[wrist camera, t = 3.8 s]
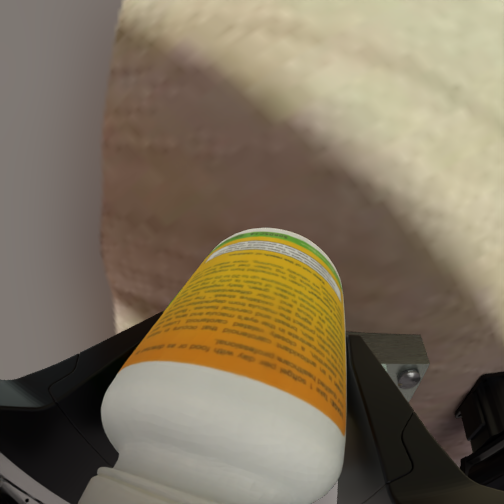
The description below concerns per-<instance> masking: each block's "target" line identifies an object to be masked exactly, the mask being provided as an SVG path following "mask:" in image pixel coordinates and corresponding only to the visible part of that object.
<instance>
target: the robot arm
mask: <svg viewBox="0 0 504 504" xmlns="http://www.w3.org/2000/svg"><path fill="white" fill-rule="evenodd" d="M163 312H164V311H162V312H160V313H158V314H156V315H154V316H152V317H150V318H148V319H146V320H144V321H142V322H141V323H139V324H137V325H135V326H133V327H131V328H129V329H127V330H125V331H123V332H121V333H119V334H117V335H115V336H113V337H111V338H109V339H107V340H105V341H103V342H101V343H99V344H97V345H95V346H92V347H90V348H89V349H87V350H84V351H82V352H80V354H76V355H74V356H72V357H70V358H68V359H66V360H64V361H62V362H60V363H58V364H55V365H52V366H50V367H48V368H45V369H42V370H40V371H37V372H35V373H32V374H29V375H26V376H24V377H21V378H18V379H14V380H0V504H78V502H79V500H80V498H81V496H82V494H83V492H84V491H85V489H86V487H87V485H88V483H89V482H90V480H91V478H92V477H94V476H97V475H98V474H97V471H98V469H99V468H100V467H108V468H113V467H114V466H115V464H116V462H117V461H118V458H119V453H118V452H117V451H116V449H115V448H114V447H113V445H112V444H111V442H110V441H109V439H108V437H107V435H106V433H105V431H104V428H103V424H102V418H101V406H102V401H103V398H104V395H105V393H106V391H107V389H108V387H109V386H110V384H111V383H112V381H113V380H114V379H115V377H116V375H117V373H118V372H119V370H120V369H121V368H122V366H123V365H124V364H125V362H126V361H127V359H128V358H129V357H130V356H131V354H132V353H133V352H134V350H135V349H136V348H137V346H138V345H139V344H140V343H141V341H142V340H143V339H144V337H145V336H146V335H147V334H148V332H149V331H150V330H151V328H152V327H153V326H154V324H155V323H156V322H157V320H158V319H159V318H160V317H161V315H162V314H163ZM346 369H347V406H346V441H345V453H344V462H343V467H342V472H341V474H340V476H339V479H338V496H337V504H504V372H500V373H493V374H485V375H483V376H482V377H481V378H480V379H479V380H478V382H477V383H476V385H475V386H474V388H473V389H472V391H471V392H470V394H469V395H468V397H467V398H466V399H465V401H464V402H463V403H462V405H461V406H460V408H459V409H458V410H457V411H456V413H455V417H456V418H461V417H462V420H463V424H464V429H465V433H466V438H467V440H468V441H470V442H471V447H472V452H473V453H472V454H471V455H469V456H467V457H464V458H462V459H461V466H460V468H459V467H458V466H457V465H456V464H455V463H454V461H453V460H452V459H451V458H450V457H449V456H448V454H447V453H446V452H445V451H444V450H443V449H442V447H441V446H440V445H439V444H438V443H437V441H436V440H435V439H434V438H433V436H432V435H431V434H430V433H429V431H428V430H427V429H426V427H425V426H424V424H423V423H422V422H421V420H420V419H419V417H418V416H417V414H416V413H415V412H414V410H413V409H412V407H411V406H410V404H409V403H408V401H407V400H406V398H405V397H404V396H403V394H402V393H401V391H400V390H399V388H398V387H397V386H396V384H395V383H394V381H393V380H392V379H391V377H390V376H389V374H388V373H387V372H386V370H385V369H384V367H383V366H382V365H381V363H380V362H379V360H378V359H377V358H376V356H375V355H374V353H373V352H372V351H371V349H370V348H369V347H368V345H367V344H366V343H365V341H364V340H363V338H362V337H361V336H360V335H347V336H346Z"/></svg>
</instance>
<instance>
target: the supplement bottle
mask: <svg viewBox="0 0 504 504" xmlns="http://www.w3.org/2000/svg"><path fill="white" fill-rule="evenodd" d="M346 406H347V369H346V334H345V314H344V300H343V291H342V285H341V281H340V278H339V275H338V273H337V270H336V268H335V267H334V265H333V263H332V262H331V260H330V259H329V258H328V256H327V255H326V254H325V253H324V252H323V251H322V250H321V249H320V248H319V247H318V246H317V245H315V244H314V243H313V242H311V241H310V240H308V239H306V238H305V237H302V236H300V235H298V234H296V233H293V232H289V231H286V230H281V229H274V228H257V229H249V230H245V231H242V232H239V233H237V234H234V235H232V236H231V237H229V238H227V239H225V240H224V241H222V242H221V243H220V244H219V245H218V246H216V247H215V248H214V250H213V251H212V252H211V253H210V254H209V255H208V256H207V257H206V259H205V260H204V261H203V263H202V264H201V265H200V266H199V268H198V269H197V270H196V272H195V273H194V274H193V275H192V277H191V278H190V279H189V280H188V282H187V283H186V284H185V286H184V287H183V288H182V289H181V291H180V292H179V293H178V294H177V296H176V297H175V298H174V299H173V301H172V302H171V303H170V304H169V306H168V307H167V308H166V310H165V311H164V312H163V314H162V315H161V317H160V318H159V319H158V320H157V322H156V323H155V324H154V326H153V327H152V328H151V330H150V331H149V332H148V334H147V335H146V336H145V337H144V339H143V340H142V341H141V343H140V344H139V345H138V346H137V348H136V349H135V350H134V352H133V353H132V354H131V356H130V357H129V358H128V359H127V361H126V362H125V364H124V365H123V366H122V368H121V369H120V370H119V372H118V373H117V375H116V377H115V379H114V380H113V381H112V383H111V384H110V386H109V387H108V389H107V391H106V393H105V395H104V398H103V401H102V406H101V418H102V424H103V428H104V431H105V433H106V435H107V437H108V439H109V441H110V442H111V444H112V445H113V447H114V448H115V449H116V451H117V452H118V453H119V458H118V461H117V462H116V464H115V466H114V467H113V468H108V467H100V468H99V469H98V471H97V474H98V475H97V476H94V477H92V478H91V480H90V482H89V483H88V485H87V487H86V489H85V491H84V492H83V494H82V496H81V498H80V500H79V502H78V504H312V503H314V502H316V501H317V500H319V499H321V498H322V497H323V496H325V495H326V494H327V493H328V492H329V491H330V490H331V489H332V488H333V487H334V485H335V484H336V482H337V481H338V479H339V476H340V474H341V472H342V467H343V462H344V453H345V441H346Z"/></svg>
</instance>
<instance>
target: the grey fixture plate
mask: <svg viewBox="0 0 504 504" xmlns="http://www.w3.org/2000/svg"><path fill="white" fill-rule="evenodd" d="M345 334H346V336H347V335H360V336H361V337H362V338H363V340H364V341H365V343H366V344H367V345H368V347H369V348H370V349H371V351H372V352H373V353H374V355H375V356H376V358H377V359H378V360H379V362H380V363H381V365H382V366H383V367H384V369H385V370H386V372H387V373H388V374H389V376H390V377H391V379H392V380H393V381H394V383H395V384H396V386H397V387H398V388H399V390H400V391H401V393H402V394H403V396H404V397H405V398H406V400H407V401H408V402H409V401H410V399H411V397H412V396H413V394H414V392H415V390H416V389H417V387H418V385H419V383H420V382H421V380H422V378H423V376H424V374H425V372H426V370H427V368H428V366H429V364H430V363H429V360H428V356H427V353H426V350H425V347H424V344H423V341H422V338H421V335H405V334H378V333H359V332H345Z"/></svg>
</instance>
